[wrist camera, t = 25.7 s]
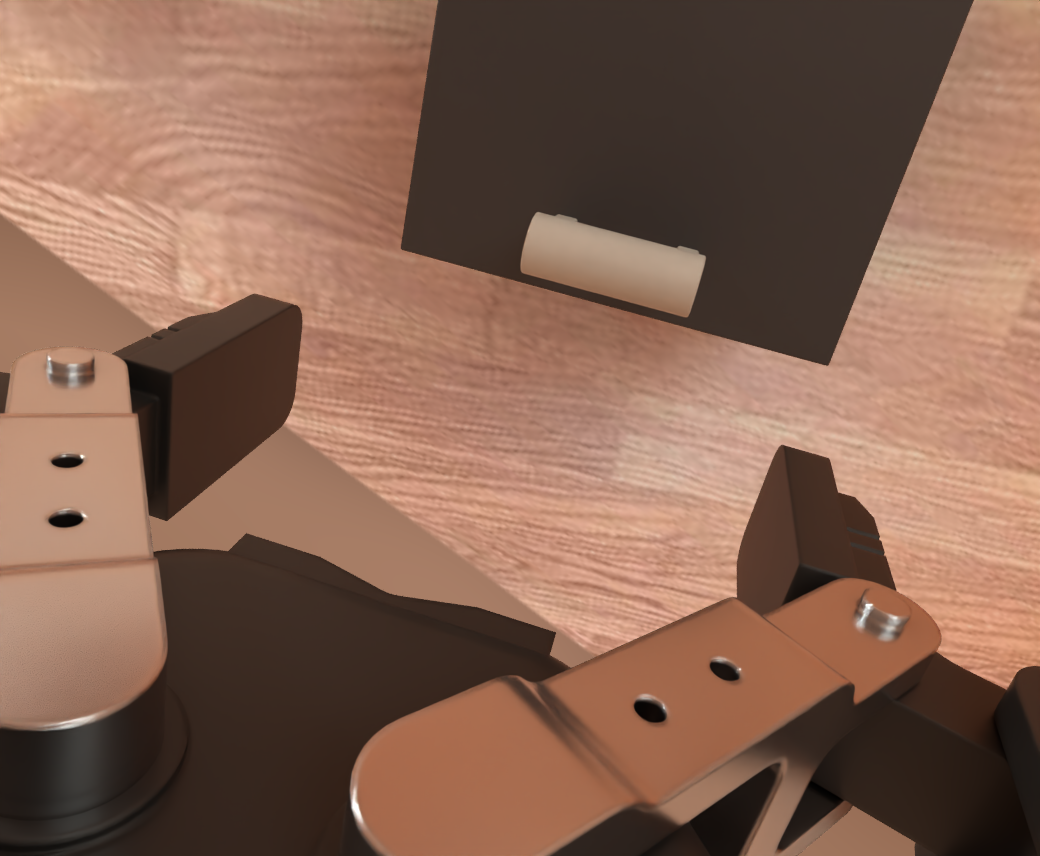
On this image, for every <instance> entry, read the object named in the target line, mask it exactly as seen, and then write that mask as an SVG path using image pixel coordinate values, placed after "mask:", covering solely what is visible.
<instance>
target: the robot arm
mask: <svg viewBox="0 0 1040 856" xmlns="http://www.w3.org/2000/svg"><path fill="white" fill-rule="evenodd" d="M301 332H302V313H301V310H300V308H299V307H298V306H297V305H293V304H290V303H286V302H283V301H279V300H276V299H272V298H269V297H265V296H262V295H258V294H252V295H250V296H248V297H246V298H244V299H242V300H240V301H238V302H236V303H234V304H232V305H230V306H228V307H226V308H224V309H222V310H220V311H218V312H214V313H208V314H202V315H197V316H191V317H187V318H185V319H183V320H181V321H179V322H177V323H175V324H173V325H171V326H169V327H168V329H162V330H160V331H158V332H156V333H154V334H152V336H151V337H146V338H144V339H142V340H139V341H137V342H135V343H133V344H131V345H129V346H127V347H125V348H123V349H121V350H119V351H116V352H114V353H112V354H111V353H108V352H105V351H102V350H98V349H92V348H84V347H73V346H66V347H65V346H62V347H50V348H43V349H38V350H34V351H31V352H28V353H25V354H23V355H21V356H20V357H18V358H17V359H16V360H15V361H14V362H13V364H12V367H11V373H3V372H0V856H797V855H799V854H800V853H801V852H802V851H803V850H805V849H806V848H807V847H808V846H809V845H810V844H812V843H813V842H814V841H815V840H816V839H818V838H819V837H820V836H821V835H822V834H823V833H825V832H826V831H827V830H828V829H829V828H831V827H832V826H833V825H834V824H835V823H836V822H838V821H839V820H840V819H841V818H842V817H844V816H845V815H846V814H847V813H848V811H850V809H851V808H852V806H855V807H857V808H858V809H860V810H862V811H863V812H865V813H867V814H869V815H870V816H872V817H874V818H875V819H877V820H879V821H880V822H882V823H884V824H886V825H887V826H889V827H891V828H892V829H894V830H896V831H897V832H899V833H901V834H902V835H904V836H906V837H908V838H909V839H911V840H913V841H914V842H916V843H915V856H1040V666H1031V667H1026V668H1023V669H1021V670H1020V671H1018V672H1017V674H1016V675H1015V677H1014V679H1013V680H1012V682H1011V684H1010V685H1009V687H1008V689H1007V690H1006V689H1004V688H1002V687H1000V686H998V685H996V684H994V683H992V682H990V681H987V680H985V679H983V678H981V677H979V676H977V675H975V674H973V673H971V672H969V671H967V670H965V669H963V668H962V667H960V666H958V665H956V664H954V663H952V662H951V661H949V660H948V659H946V658H944V657H943V656H941V655H940V654H939V653H937V652H936V651H937V649H938V648H939V646H940V643H941V633H940V630H939V628H938V626H937V624H936V623H935V621H934V620H933V619H932V617H931V616H930V615H929V614H928V613H927V612H926V611H925V610H924V609H922V608H921V607H920V606H919V605H917V604H916V603H915V602H913V601H912V600H910V599H909V598H907V597H906V596H904V595H902V594H900V593H899V592H897V591H896V587H895V584H894V581H893V578H892V575H891V571H890V568H889V565H888V562H887V558H886V556H884V553H885V552H884V549H883V546H882V542H881V541H880V540H879V538H880V536H879V533H878V529H877V526H876V523H875V520H874V517H873V516H872V515H871V514H870V513H869V512H868V511H867V510H866V509H865V508H864V507H863V506H862V504H861V503H860V502H859V501H858V500H857V499H856V498H855V497H852V496H848V495H845V494H842V493H838V491H837V487H836V483H835V479H834V474H833V470H832V466H831V462H830V459H829V458H826V457H823V456H819V455H816V454H812V453H809V452H805V451H802V450H798V449H795V448H791V447H788V446H784V445H781V446H780V447H779V448H778V450H777V451H776V453H775V455H774V458H773V460H772V462H771V465H770V467H769V470H768V473H767V475H766V478H765V480H764V483H763V486H762V488H761V491H760V493H759V496H758V499H757V501H756V504H755V506H754V509H753V511H752V514H751V517H750V519H749V522H748V524H747V527H746V530H745V532H744V535H743V539H742V542H741V546H740V550H739V555H738V560H737V598H735V597H731V598H727V599H724V600H722V601H720V602H718V603H715V604H713V605H711V606H709V607H706V608H704V609H702V610H700V611H697V612H695V613H693V614H691V615H689V616H686V617H684V618H682V619H680V620H677V621H675V622H673V623H671V624H668V625H666V626H664V627H662V628H660V629H657V630H655V631H653V632H651V633H648V634H646V635H644V636H642V637H639V638H637V639H635V640H633V641H630V642H628V643H626V644H624V645H622V646H619V647H617V648H615V649H613V650H610V651H608V652H606V653H604V654H601V655H599V656H597V657H595V658H593V659H591V660H588V661H586V662H584V663H581V664H579V665H577V666H575V667H573V668H570V667H568V666H567V665H565V664H564V663H563V662H561V661H559V660H558V659H556V658H554V657H552V656H550V652H551V648H552V645H553V642H554V638H555V634H556V632H553V631H549V630H546V629H543V628H540V627H537V626H534V625H531V624H528V623H524V622H521V621H518V620H515V619H512V618H509V617H506V616H502V615H500V614H496V613H493V612H490V611H487V610H484V609H481V608H477V607H471V606H464V605H458V604H451V603H444V602H437V601H430V600H424V599H416V598H410V597H403V596H397V595H392V594H389V593H386V592H384V591H382V590H380V589H378V588H377V587H375V586H373V585H371V584H369V583H367V582H365V581H364V580H362V579H360V578H358V577H356V576H354V575H352V574H350V573H349V572H347V571H345V570H343V569H341V568H340V567H338V566H336V565H334V564H332V563H330V562H328V561H326V560H324V559H323V558H321V557H318V556H315V555H312V554H309V553H306V552H303V551H300V550H297V549H294V548H290V547H287V546H284V545H281V544H278V543H275V542H272V541H269V540H265V539H262V538H259V537H256V536H253V535H250V534H245V535H244V536H243V537H242V538H241V539H240V540H239V541H238V542H237V543H236V544H235V545H234V546H233V547H232V548H231V549H230V550H229V551H221V550H209V549H176V550H162V551H156V552H153V545H152V536H151V527H150V518H149V515H150V516H153V517H156V518H159V519H162V520H165V521H168V520H169V519H170V518H171V517H172V516H174V515H175V514H176V513H177V512H178V511H180V510H181V509H182V508H183V507H185V506H186V505H187V504H188V503H190V502H191V501H192V500H193V499H194V498H196V497H197V496H198V495H199V494H200V493H202V492H203V491H204V490H205V489H207V488H208V487H209V486H210V485H211V484H213V483H214V482H215V481H216V480H217V479H218V478H220V477H221V476H222V475H223V474H225V473H226V472H227V471H228V470H230V469H231V468H232V467H233V466H235V465H236V464H237V463H238V462H239V461H240V460H242V459H243V458H244V457H245V456H247V455H248V454H249V453H250V452H252V451H253V450H254V449H255V448H256V447H258V446H259V445H260V444H261V443H262V442H264V441H265V440H266V439H267V438H269V437H270V436H271V435H272V434H273V433H275V432H276V431H277V430H278V429H279V428H280V427H281V426H282V425H283V424H284V422H285V421H286V419H287V417H288V415H289V413H290V411H291V408H292V405H293V402H294V397H295V390H296V380H297V371H298V361H299V351H300V342H301Z"/></svg>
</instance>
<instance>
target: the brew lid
mask: <svg viewBox="0 0 1040 856" xmlns="http://www.w3.org/2000/svg"><path fill="white" fill-rule="evenodd" d="M973 1H974V0H438V5H437V11H436V18H435V25H434V31H433V38H432V45H431V51H430V58H429V64H428V71H427V78H426V84H425V91H424V98H423V104H422V111H421V118H420V124H419V131H418V137H417V144H416V151H415V157H414V164H413V171H412V177H411V184H410V191H409V197H408V204H407V210H406V217H405V224H404V230H403V237H402V244H401V249H402V250H405V251H409V252H412V253H416V254H420V255H423V256H427V257H431V258H434V259H438V260H442V261H445V262H449V263H453V264H456V265H460V266H463V267H467V268H471V269H474V270H478V271H482V272H485V273H489V274H493V275H496V276H500V277H504V278H507V279H511V280H515V281H518V282H522V283H526V284H529V285H533V286H537V287H540V288H544V289H548V290H551V291H555V292H559V293H562V294H566V295H570V296H573V297H577V298H581V299H584V300H588V301H592V302H595V303H599V304H603V305H606V306H610V307H614V308H617V309H621V310H625V311H628V312H632V313H636V314H639V315H643V316H647V317H650V318H654V319H658V320H661V321H665V322H669V323H672V324H676V325H679V326H683V327H687V328H690V329H694V330H698V331H701V332H705V333H709V334H712V335H716V336H720V337H723V338H727V339H731V340H734V341H738V342H742V343H745V344H749V345H753V346H756V347H760V348H764V349H767V350H771V351H775V352H778V353H782V354H786V355H789V356H793V357H797V358H800V359H804V360H808V361H811V362H815V363H819V364H822V365H826V366H828V365H829V363H830V361H831V358H832V356H833V353H834V351H835V348H836V345H837V343H838V340H839V338H840V335H841V333H842V330H843V328H844V325H845V323H846V320H847V318H848V315H849V313H850V310H851V308H852V305H853V303H854V300H855V298H856V295H857V293H858V290H859V288H860V285H861V283H862V280H863V278H864V275H865V272H866V270H867V267H868V265H869V262H870V260H871V257H872V255H873V252H874V250H875V247H876V245H877V242H878V240H879V237H880V235H881V232H882V230H883V227H884V225H885V222H886V220H887V217H888V215H889V212H890V210H891V207H892V205H893V202H894V200H895V197H896V194H897V192H898V189H899V187H900V184H901V182H902V179H903V177H904V174H905V172H906V169H907V167H908V164H909V162H910V159H911V157H912V154H913V152H914V149H915V147H916V144H917V142H918V139H919V137H920V134H921V132H922V129H923V127H924V124H925V122H926V119H927V116H928V114H929V111H930V109H931V106H932V104H933V101H934V99H935V96H936V94H937V91H938V89H939V86H940V84H941V81H942V79H943V76H944V74H945V71H946V69H947V66H948V64H949V61H950V59H951V56H952V54H953V51H954V49H955V46H956V43H957V41H958V38H959V36H960V33H961V31H962V28H963V26H964V23H965V21H966V18H967V16H968V13H969V11H970V8H971V6H972V3H973Z"/></svg>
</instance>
